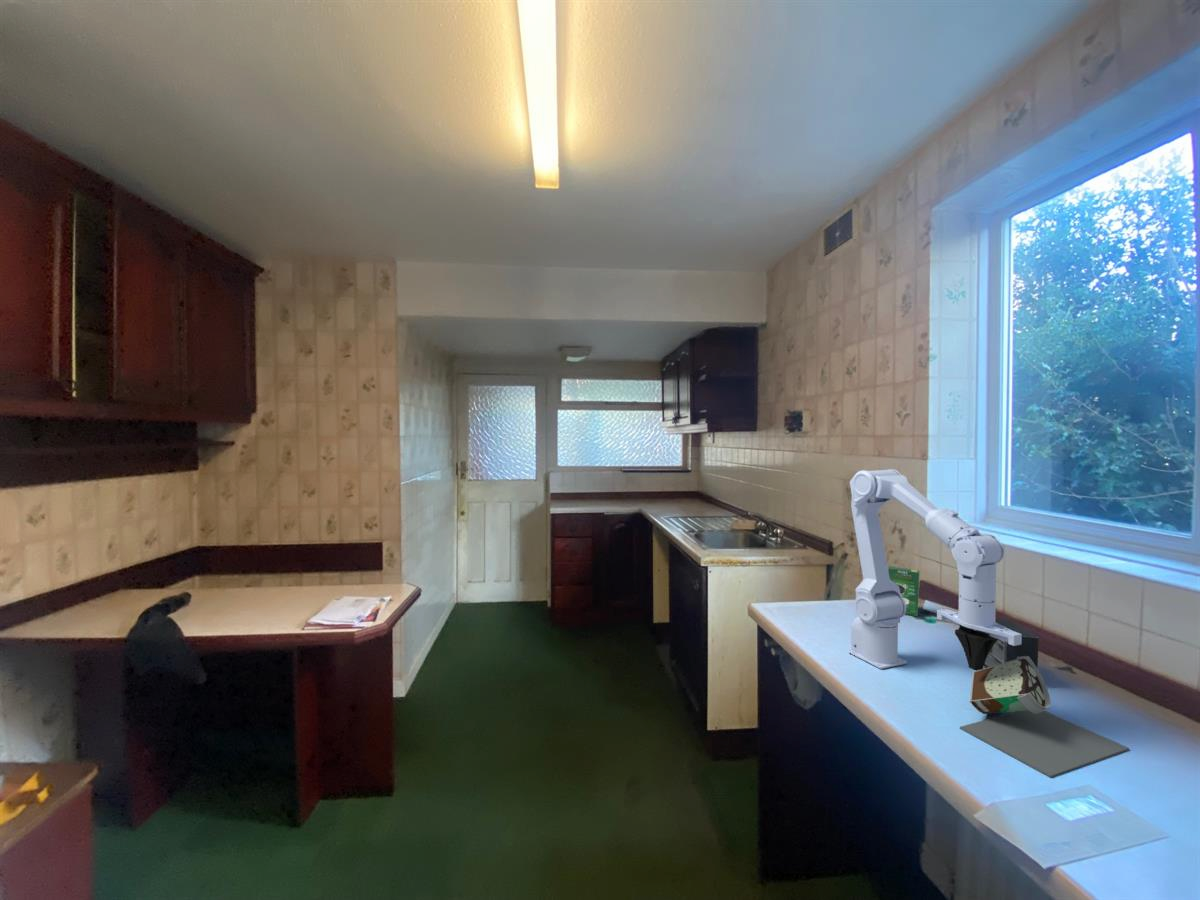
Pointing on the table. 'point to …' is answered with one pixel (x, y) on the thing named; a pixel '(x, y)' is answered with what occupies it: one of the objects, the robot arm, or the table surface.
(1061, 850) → the table surface
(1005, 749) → the mat
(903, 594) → the coffee box
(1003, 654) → the small box
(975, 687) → the food container
